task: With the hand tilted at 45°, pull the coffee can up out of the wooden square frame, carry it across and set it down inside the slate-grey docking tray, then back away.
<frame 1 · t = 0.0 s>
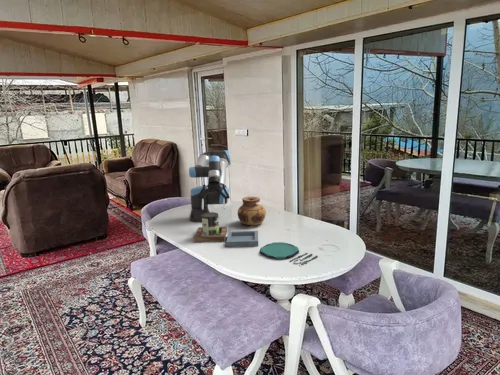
hand: (213, 208, 232), 15 cm above the table, tool tilted 35°, fingers open, 13 cm apart
cutlery set: (286, 255, 197), on the table
wooden square frame: (211, 236, 228), on the table
docking tray: (243, 240, 218), on the table
coffee can: (211, 236, 228), resting in wooden square frame
clay pot: (251, 223, 250), on the table
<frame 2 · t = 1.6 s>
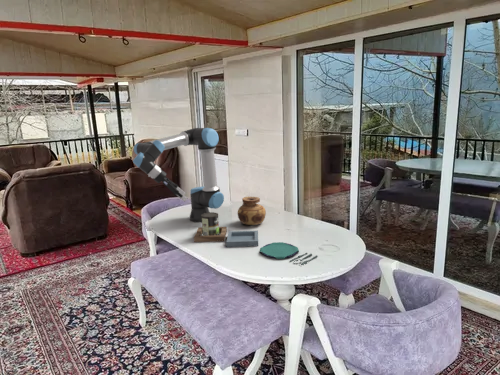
hand: (185, 197, 219), 26 cm above the table, tool tilted 45°, fingers open, 13 cm apart
nothing on the table moved.
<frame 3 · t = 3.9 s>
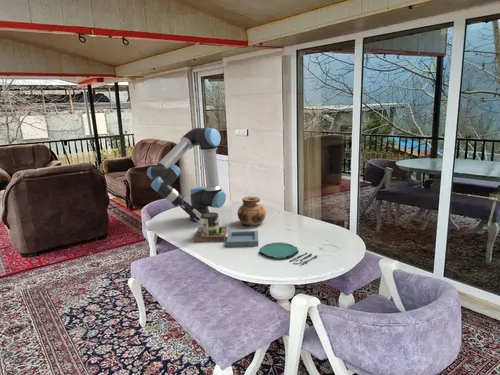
hand: (201, 219, 223), 12 cm above the table, tool tilted 45°, fingers open, 13 cm apart
nothing on the table moved.
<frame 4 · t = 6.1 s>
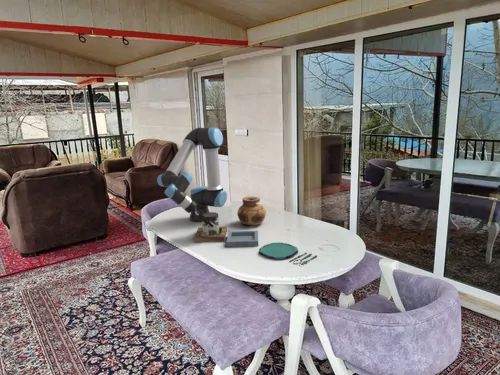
hand: (215, 226, 227), 6 cm above the table, tool tilted 45°, fingers closed on coffee can, 10 cm apart
coffee can: (211, 236, 228), resting in wooden square frame, touching gripper
everything else where it was.
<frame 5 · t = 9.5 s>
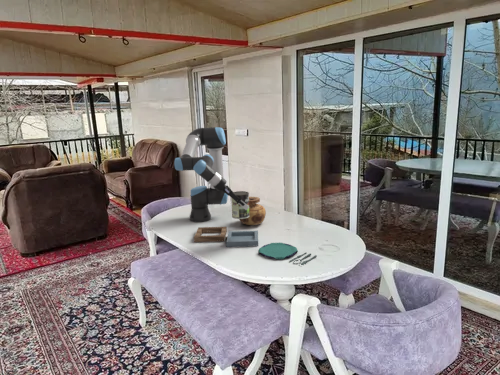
hand: (245, 206, 214), 21 cm above the table, tool tilted 45°, fingers closed on coffee can, 10 cm apart
coffee can: (240, 216, 215), point 15 cm above the table, touching gripper
everything else where it was.
when the fingers open (8 cm above the table, at t = 13.2 s): coffee can drops 1 cm, resting on docking tray.
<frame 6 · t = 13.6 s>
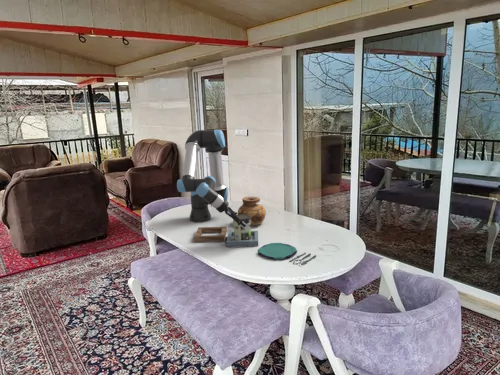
hand: (246, 225, 217), 9 cm above the table, tool tilted 45°, fingers open, 13 cm apart
coffee can: (242, 239, 218), point 1 cm above the table, touching docking tray
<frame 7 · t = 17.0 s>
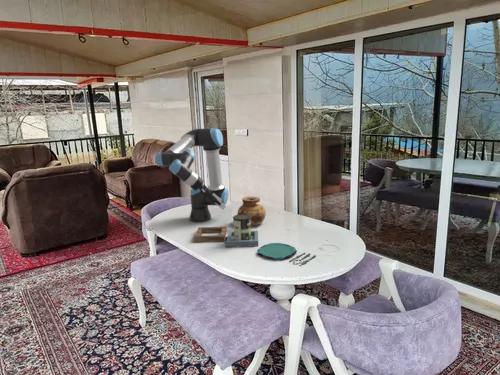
hand: (222, 204, 211), 23 cm above the table, tool tilted 45°, fingers open, 13 cm apart
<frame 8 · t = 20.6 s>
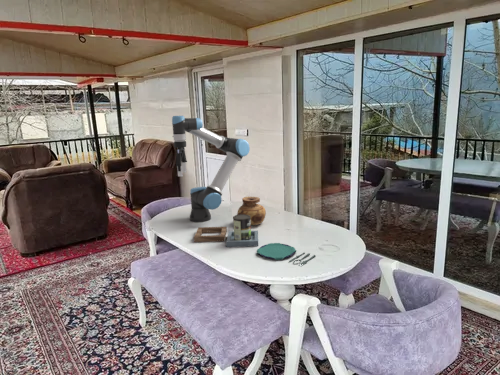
hand: (182, 174, 235), 37 cm above the table, tool pointing down, fingers open, 13 cm apart
at the end: coffee can 0.2 cm off-centre on the docking tray, point 0.6 cm above the docking tray's base; coffee can tilted 0°; the gripper is holding nothing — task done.
